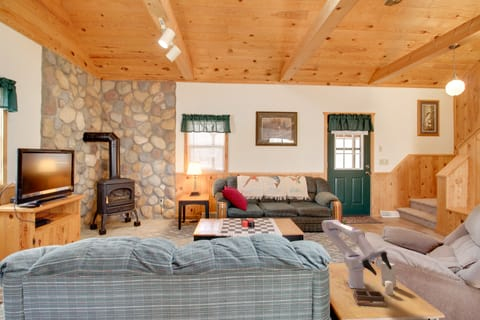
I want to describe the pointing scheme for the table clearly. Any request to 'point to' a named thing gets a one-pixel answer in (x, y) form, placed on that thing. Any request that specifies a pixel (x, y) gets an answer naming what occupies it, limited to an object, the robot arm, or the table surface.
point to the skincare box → (388, 274)
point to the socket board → (369, 298)
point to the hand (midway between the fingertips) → (383, 271)
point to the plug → (389, 288)
